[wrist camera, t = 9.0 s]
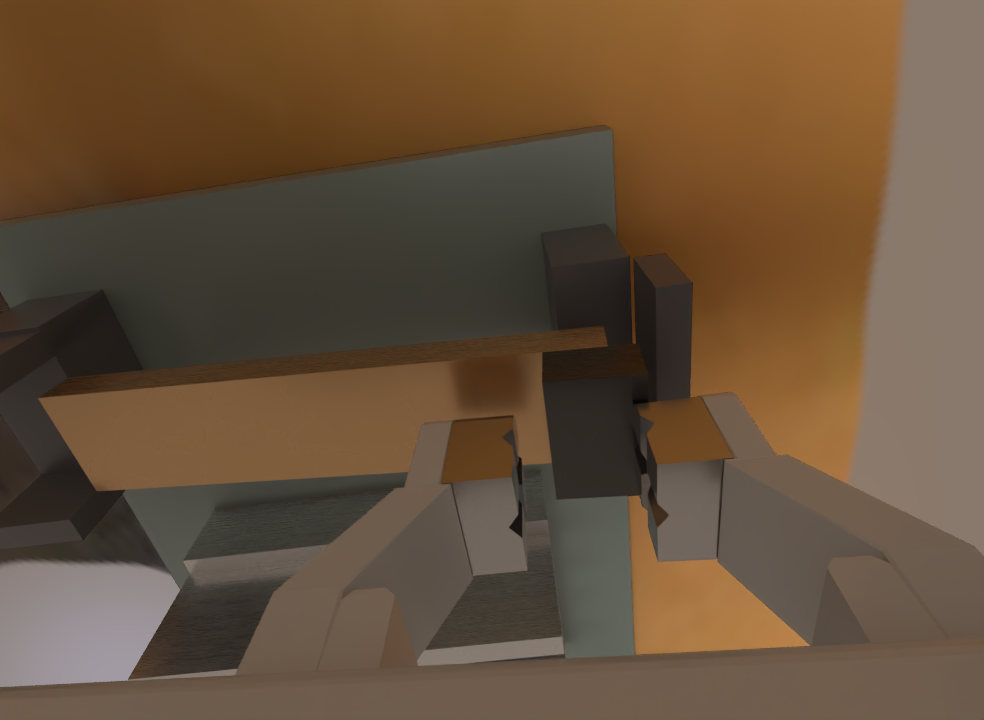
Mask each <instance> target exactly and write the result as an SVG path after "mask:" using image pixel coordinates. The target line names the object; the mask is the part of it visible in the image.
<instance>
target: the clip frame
mask: <svg viewBox="0 0 984 720" xmlns="http://www.w3.org/2000/svg"><path fill="white" fill-rule="evenodd" d="M541 237H542V246H543V255H544V265H545V274H546V283H547V292H548V302H549V311H550V320H551V330H552V331H556V330H566V329H576V328H587V327H597V326H604V331H605V335H606V340H607V345H608V346H617V345H628V344H632V314H631V282H630V256H629V255H628V254H627V252H626V251H625V249H624V248H623V247H622V245H621V244H620V243H619V241H618V240H617V238H616V237H615V236H614V234H613V233H612V232H611V230H610V229H609V227H608V226H607V225H606V223H605V224H598V225H591V226H584V227H578V228H571V229H564V230H557V231H550V232H544V233H541ZM634 293H635V328H636V344H639V347H640V350H641V353H642V356H643V359H644V362H645V365H646V369H647V372H648V391H649V402H656V401H665V400H673V399H682V398H690V375H691V334H692V293H693V282H692V281H691V280H690V279H689V278H688V277H687V276H686V275H685V274H684V273H683V272H682V271H681V269H680V268H679V267H678V266H677V265H676V264H675V263H674V262H673V261H672V260H671V259H670V258H669V257H668V256H667V254H666V253H663V254H656V255H649V256H642V257H635V258H634ZM141 370H143V368H142V366H141V364H140V362H139V360H138V358H137V356H136V354H135V352H134V350H133V348H132V346H131V344H130V342H129V340H128V338H127V336H126V334H125V332H124V330H123V328H122V326H121V325H120V323H119V321H118V319H117V317H116V315H115V313H114V311H113V309H112V307H111V305H110V303H109V301H108V299H107V297H106V295H105V293H104V291H103V289H101V290H94V291H87V292H81V293H74V294H67V295H60V296H54V297H47V298H40V299H33V300H27V301H24V302H22V303H20V304H18V305H16V306H14V307H12V308H11V309H9V310H7V311H5V312H3V313H1V314H0V415H1V416H2V418H3V419H4V421H5V422H6V424H7V425H8V427H9V428H10V430H11V431H12V433H13V434H14V436H15V437H16V438H17V440H18V441H19V443H20V444H21V446H22V447H23V449H24V450H25V452H26V453H27V455H28V456H29V458H30V459H31V461H32V462H33V463H34V465H35V466H36V468H37V469H38V471H39V472H40V474H41V476H40V477H39V478H38V479H37V480H36V481H35V482H34V483H32V484H31V485H30V486H29V487H28V488H27V489H26V490H25V491H24V492H23V493H22V494H20V495H19V496H18V497H17V498H16V499H15V500H14V501H13V502H12V503H11V504H10V505H8V506H7V507H6V508H5V509H4V510H3V511H2V512H1V513H0V550H3V549H12V548H20V547H29V546H37V545H46V544H54V543H63V542H71V541H80V540H84V539H85V537H86V536H87V535H88V534H89V533H90V532H91V530H92V529H93V528H94V527H95V526H96V525H97V523H98V522H99V521H100V520H101V519H102V517H103V516H104V515H105V514H106V513H107V512H108V510H109V509H110V508H111V507H112V506H113V505H114V503H115V502H116V501H117V500H118V499H119V498H120V496H121V495H122V494H123V493H124V492H125V490H111V491H96V490H95V488H94V486H93V485H92V483H91V482H90V480H89V478H88V477H87V475H86V474H85V472H84V471H83V469H82V467H81V466H80V464H79V463H78V461H77V459H76V458H75V456H74V455H73V453H72V451H71V450H70V448H69V447H68V445H67V444H66V442H65V440H64V439H63V437H62V436H61V434H60V432H59V431H58V429H57V428H56V426H55V425H54V423H53V421H52V420H51V418H50V417H49V415H48V413H47V412H46V410H45V409H44V407H43V406H42V404H41V402H40V401H39V399H38V398H39V397H40V396H42V395H43V394H45V393H46V392H48V391H49V390H51V389H52V388H54V387H55V386H57V385H58V384H60V383H61V382H63V381H64V380H65V379H67V378H68V377H78V376H89V375H99V374H109V373H120V372H130V371H141Z"/></svg>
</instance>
